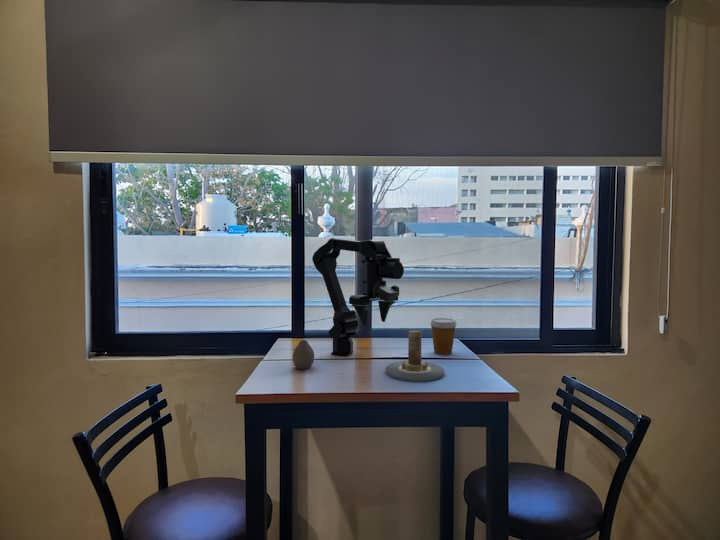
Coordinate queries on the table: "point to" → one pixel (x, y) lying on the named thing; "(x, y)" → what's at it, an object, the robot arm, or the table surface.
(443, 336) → the disposable coffee cup
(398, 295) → the robot arm
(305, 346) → the vase
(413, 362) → the gear
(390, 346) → the table surface
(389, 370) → the disc
